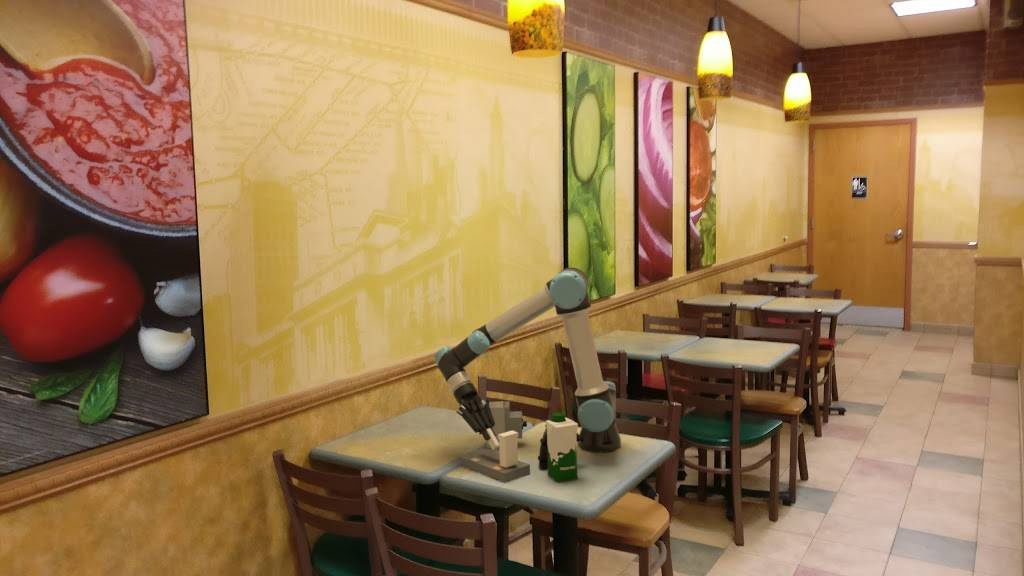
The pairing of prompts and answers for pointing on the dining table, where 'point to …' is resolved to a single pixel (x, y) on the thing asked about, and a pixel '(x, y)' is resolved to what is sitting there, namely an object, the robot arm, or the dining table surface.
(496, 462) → the switch panel
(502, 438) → the cream rectangular box
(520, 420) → the circuit breaker
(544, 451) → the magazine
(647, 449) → the dining table surface
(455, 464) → the dining table surface
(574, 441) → the milk carton
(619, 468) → the dining table surface
